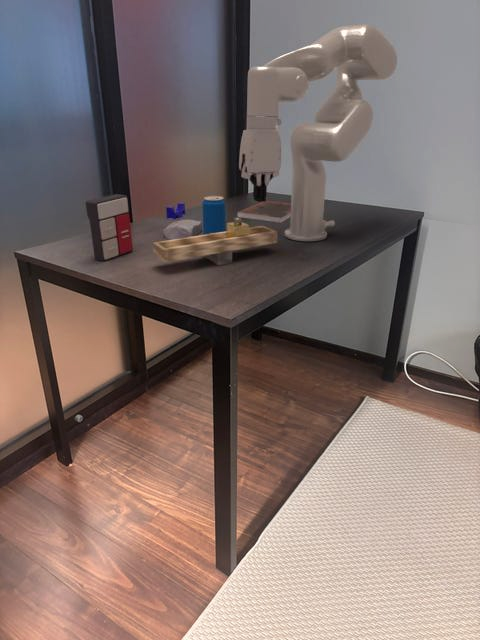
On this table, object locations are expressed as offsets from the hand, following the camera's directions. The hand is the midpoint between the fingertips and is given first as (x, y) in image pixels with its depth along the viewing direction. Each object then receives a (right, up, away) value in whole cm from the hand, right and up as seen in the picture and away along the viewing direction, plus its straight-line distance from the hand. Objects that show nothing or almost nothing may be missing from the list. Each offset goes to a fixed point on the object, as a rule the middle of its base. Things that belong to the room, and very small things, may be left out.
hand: (259, 200), depth 123 cm
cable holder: (-27, +5, +43) cm, 51 cm away
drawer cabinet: (-38, -14, +4) cm, 41 cm away
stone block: (-23, -5, +23) cm, 32 cm away
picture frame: (+6, +7, +47) cm, 48 cm away
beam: (-11, -15, 0) cm, 19 cm away
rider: (-6, -10, +1) cm, 11 cm away
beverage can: (-13, -7, +17) cm, 23 cm away
